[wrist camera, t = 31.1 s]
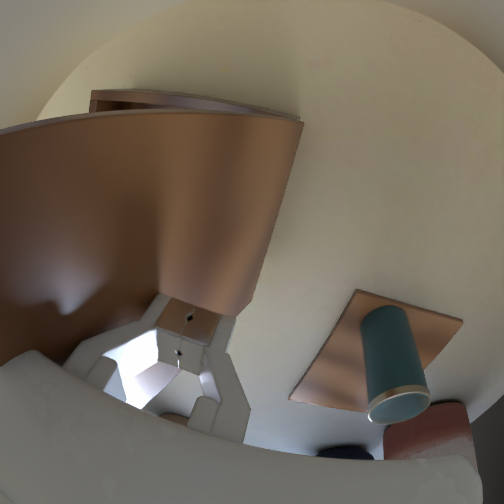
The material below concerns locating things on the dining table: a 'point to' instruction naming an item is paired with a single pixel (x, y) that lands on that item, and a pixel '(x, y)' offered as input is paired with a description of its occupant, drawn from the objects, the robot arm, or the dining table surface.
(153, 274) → the chest lid
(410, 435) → the planter
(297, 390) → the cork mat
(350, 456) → the teapot
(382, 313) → the tea tin
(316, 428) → the dining table surface
